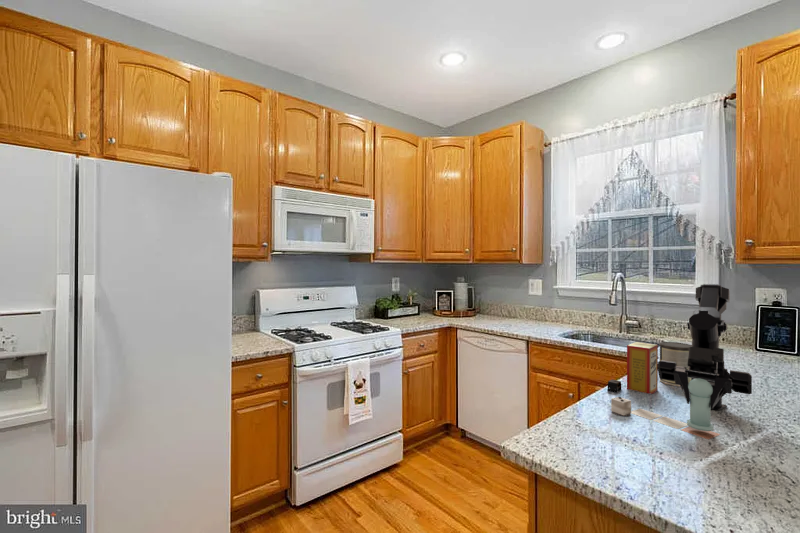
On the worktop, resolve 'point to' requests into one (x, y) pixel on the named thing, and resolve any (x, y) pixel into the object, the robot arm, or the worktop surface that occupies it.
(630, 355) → the baking soda box
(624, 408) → the game board
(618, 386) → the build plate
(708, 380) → the robot arm
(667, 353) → the coffee can
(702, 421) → the pawn
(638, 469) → the worktop surface
